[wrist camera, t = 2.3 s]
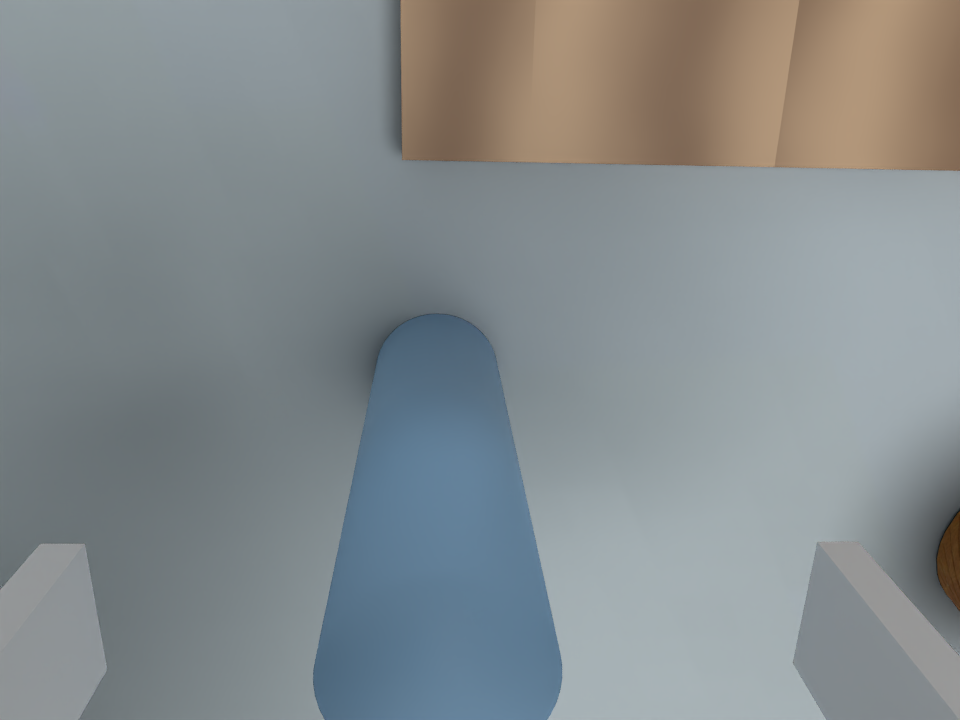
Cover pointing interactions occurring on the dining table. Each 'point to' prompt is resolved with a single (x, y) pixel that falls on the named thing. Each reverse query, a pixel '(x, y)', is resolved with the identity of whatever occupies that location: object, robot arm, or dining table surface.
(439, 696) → the peg
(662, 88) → the keyhole board
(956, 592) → the disposable coffee cup
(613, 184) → the dining table surface
